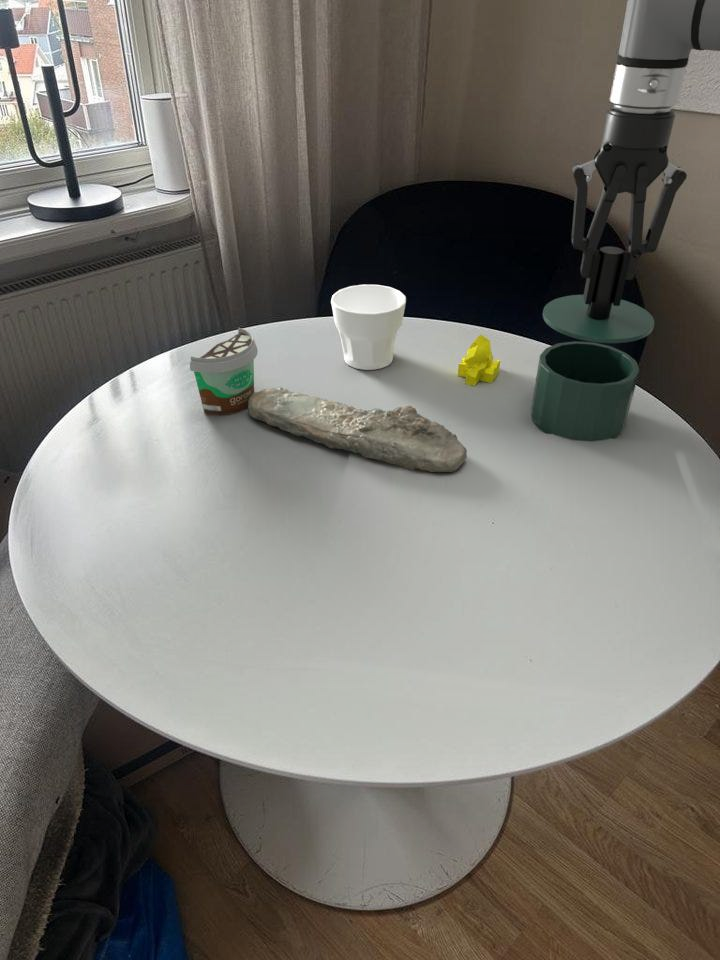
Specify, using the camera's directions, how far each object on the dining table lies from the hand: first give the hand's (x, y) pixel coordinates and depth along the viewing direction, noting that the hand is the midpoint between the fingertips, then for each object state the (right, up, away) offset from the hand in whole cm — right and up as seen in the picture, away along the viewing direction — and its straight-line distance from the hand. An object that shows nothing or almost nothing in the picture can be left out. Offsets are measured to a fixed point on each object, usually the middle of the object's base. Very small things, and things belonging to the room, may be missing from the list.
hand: (601, 300), depth 95 cm
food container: (-52, -12, +16) cm, 55 cm away
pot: (0, -15, +11) cm, 19 cm away
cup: (-31, -3, +28) cm, 42 cm away
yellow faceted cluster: (-13, -7, +23) cm, 27 cm away
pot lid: (0, -2, +2) cm, 3 cm away
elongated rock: (-34, -18, +8) cm, 39 cm away
